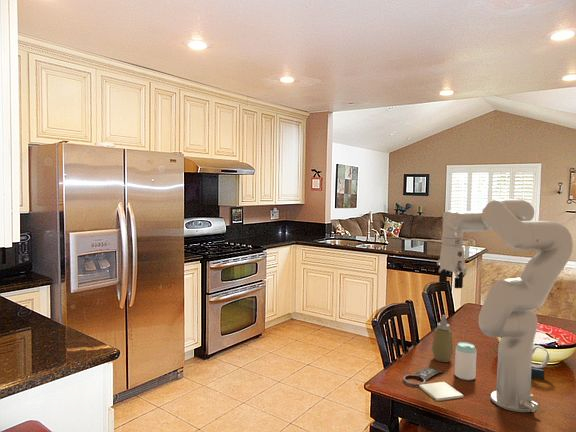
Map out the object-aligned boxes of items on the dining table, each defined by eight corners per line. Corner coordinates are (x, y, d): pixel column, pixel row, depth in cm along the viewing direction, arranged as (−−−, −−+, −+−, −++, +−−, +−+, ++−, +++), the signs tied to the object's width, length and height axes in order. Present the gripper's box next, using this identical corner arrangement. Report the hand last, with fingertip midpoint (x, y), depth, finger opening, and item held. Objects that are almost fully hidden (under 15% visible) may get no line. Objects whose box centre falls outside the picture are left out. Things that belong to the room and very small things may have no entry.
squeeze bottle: (454, 364, 165) (456, 319, 164) (433, 362, 166) (434, 317, 165) (451, 356, 173) (452, 313, 172) (430, 354, 174) (431, 311, 173)
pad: (463, 397, 138) (463, 395, 138) (436, 401, 135) (437, 398, 135) (444, 383, 148) (444, 381, 148) (419, 387, 145) (419, 384, 145)
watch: (522, 370, 160) (523, 341, 160) (547, 374, 157) (548, 345, 157) (524, 376, 155) (525, 346, 155) (549, 380, 152) (551, 350, 151)
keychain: (446, 375, 156) (446, 369, 156) (417, 390, 143) (418, 384, 143) (427, 368, 162) (427, 363, 162) (398, 382, 149) (398, 377, 149)
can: (479, 378, 153) (480, 345, 152) (468, 383, 149) (469, 349, 148) (461, 371, 158) (463, 340, 158) (450, 375, 155) (451, 343, 154)
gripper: (475, 245, 159) (473, 289, 160) (446, 239, 175) (445, 280, 176) (458, 245, 157) (456, 290, 158) (431, 239, 173) (429, 280, 174)
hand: (450, 285), depth 167 cm, fingers open, 9 cm apart
